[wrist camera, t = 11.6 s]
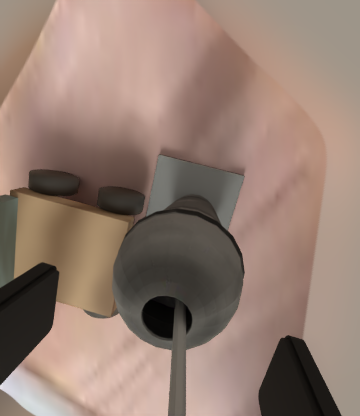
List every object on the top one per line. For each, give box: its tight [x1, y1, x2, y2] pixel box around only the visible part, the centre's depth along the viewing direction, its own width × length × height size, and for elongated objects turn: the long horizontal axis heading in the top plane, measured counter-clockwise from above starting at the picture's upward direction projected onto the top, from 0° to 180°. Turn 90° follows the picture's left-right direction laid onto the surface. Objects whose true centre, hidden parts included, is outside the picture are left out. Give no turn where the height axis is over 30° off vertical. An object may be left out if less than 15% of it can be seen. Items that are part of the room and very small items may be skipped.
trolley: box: [0, 170, 145, 318], centre depth 21 cm, size 12×13×12 cm
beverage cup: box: [112, 194, 245, 416], centre depth 15 cm, size 7×7×20 cm
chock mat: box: [146, 155, 244, 231], centre depth 25 cm, size 9×10×1 cm
